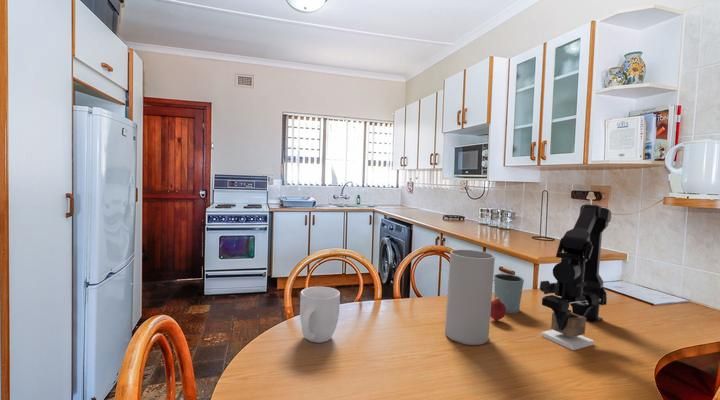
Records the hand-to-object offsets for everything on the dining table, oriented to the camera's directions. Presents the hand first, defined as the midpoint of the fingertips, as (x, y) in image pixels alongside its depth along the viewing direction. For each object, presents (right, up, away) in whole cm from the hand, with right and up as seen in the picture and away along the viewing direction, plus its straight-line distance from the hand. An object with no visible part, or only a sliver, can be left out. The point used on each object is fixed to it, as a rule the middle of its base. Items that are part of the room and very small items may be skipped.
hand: (568, 328), depth 110 cm
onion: (-17, -2, +13) cm, 21 cm away
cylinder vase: (-31, -2, -1) cm, 31 cm away
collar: (0, -1, 0) cm, 1 cm away
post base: (0, -4, 0) cm, 4 cm away
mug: (-75, 0, -8) cm, 75 cm away
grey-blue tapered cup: (-9, -2, +25) cm, 27 cm away
